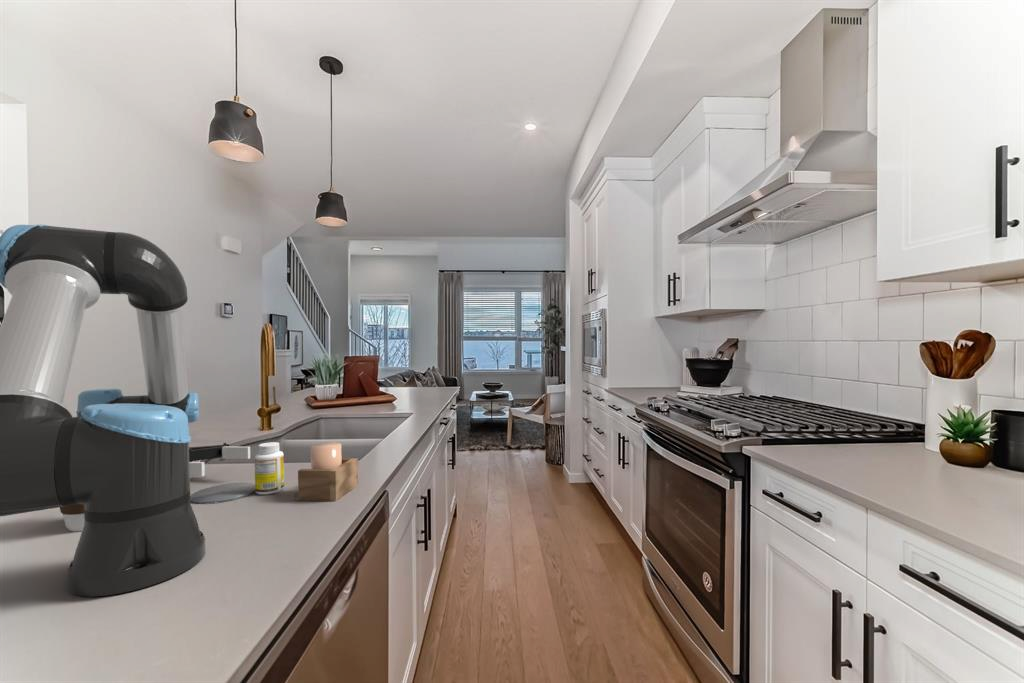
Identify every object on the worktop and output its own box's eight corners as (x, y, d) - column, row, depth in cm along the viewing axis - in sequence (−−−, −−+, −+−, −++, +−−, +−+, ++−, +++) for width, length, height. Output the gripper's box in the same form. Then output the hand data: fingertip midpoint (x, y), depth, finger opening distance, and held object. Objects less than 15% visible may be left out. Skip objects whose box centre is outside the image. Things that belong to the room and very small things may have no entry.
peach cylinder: (333, 497, 93) (332, 448, 93) (305, 497, 93) (305, 448, 93) (347, 488, 99) (346, 442, 99) (321, 487, 99) (320, 442, 99)
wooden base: (336, 500, 91) (335, 471, 91) (293, 500, 92) (293, 470, 92) (358, 485, 101) (357, 458, 101) (319, 484, 101) (319, 457, 101)
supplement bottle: (273, 485, 101) (272, 440, 101) (290, 489, 99) (289, 442, 99) (249, 493, 96) (248, 445, 96) (265, 497, 94) (264, 448, 94)
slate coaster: (230, 504, 90) (230, 501, 90) (174, 503, 91) (174, 500, 91) (268, 485, 102) (268, 482, 102) (219, 484, 103) (219, 482, 103)
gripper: (185, 461, 113) (265, 462, 111) (80, 495, 88) (180, 497, 86) (185, 431, 113) (264, 431, 111) (80, 456, 88) (179, 458, 86)
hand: (227, 460), depth 99 cm, fingers open, 13 cm apart
